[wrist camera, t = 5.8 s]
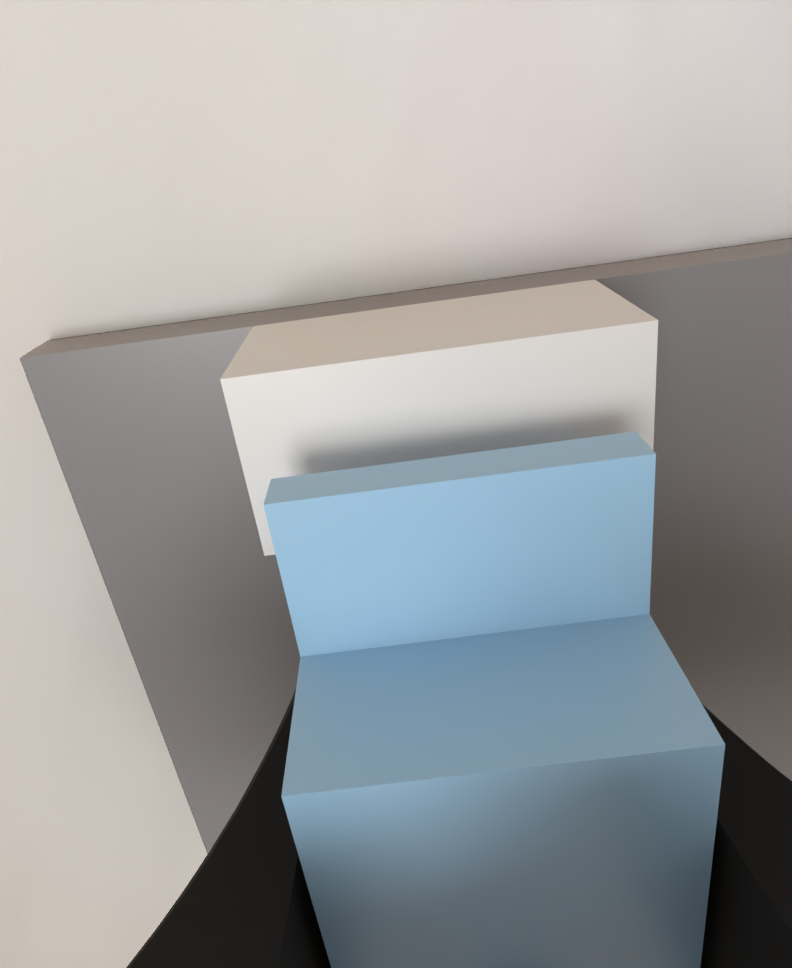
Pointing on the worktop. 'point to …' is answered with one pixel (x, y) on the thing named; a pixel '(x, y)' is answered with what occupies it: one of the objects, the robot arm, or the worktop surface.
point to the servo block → (492, 714)
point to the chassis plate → (239, 594)
